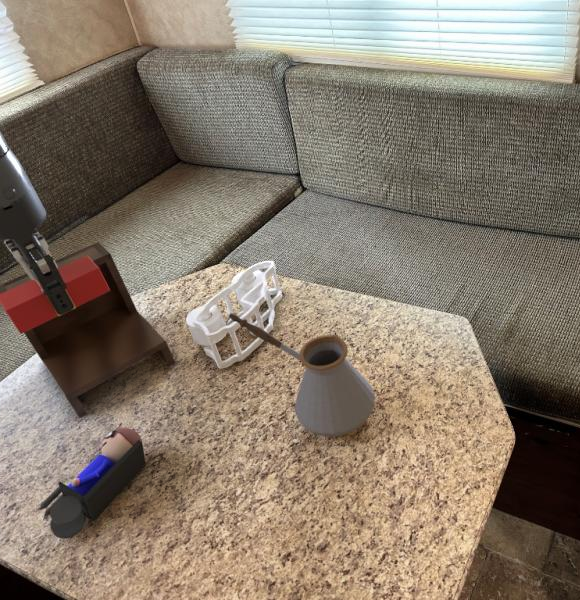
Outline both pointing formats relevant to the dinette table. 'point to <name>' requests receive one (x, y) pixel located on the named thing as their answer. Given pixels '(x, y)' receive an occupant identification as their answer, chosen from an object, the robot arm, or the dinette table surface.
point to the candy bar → (36, 306)
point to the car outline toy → (251, 296)
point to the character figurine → (96, 483)
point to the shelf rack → (94, 333)
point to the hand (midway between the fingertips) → (59, 302)
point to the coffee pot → (325, 384)
